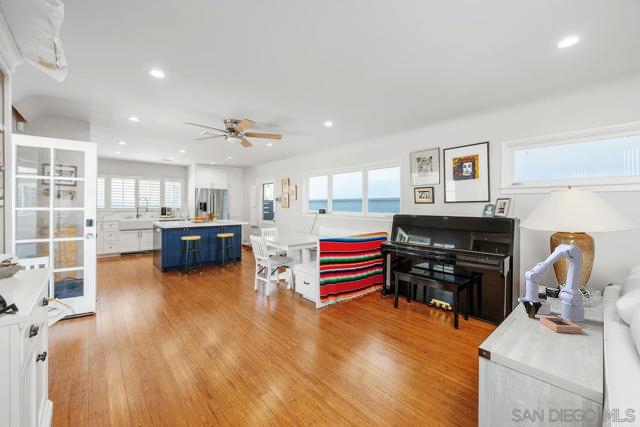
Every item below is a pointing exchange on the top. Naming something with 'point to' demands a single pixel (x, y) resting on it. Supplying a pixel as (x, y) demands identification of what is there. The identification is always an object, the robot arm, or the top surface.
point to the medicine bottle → (544, 305)
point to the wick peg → (532, 312)
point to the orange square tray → (560, 325)
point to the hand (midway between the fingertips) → (531, 314)
